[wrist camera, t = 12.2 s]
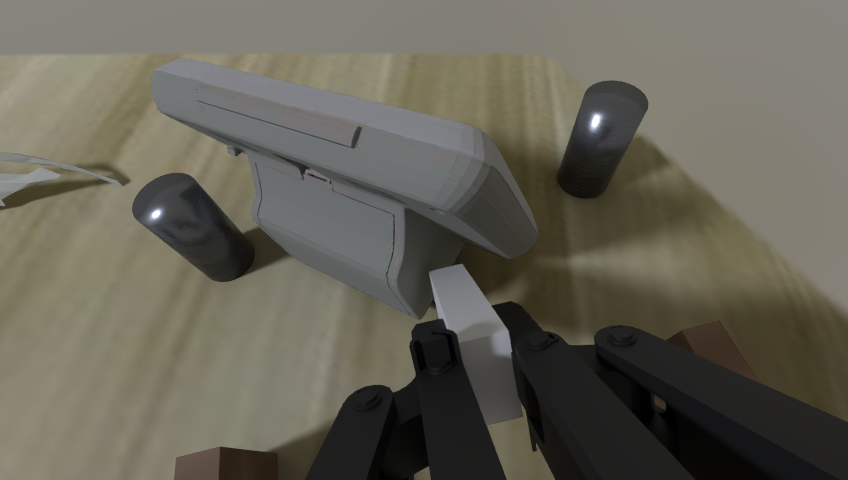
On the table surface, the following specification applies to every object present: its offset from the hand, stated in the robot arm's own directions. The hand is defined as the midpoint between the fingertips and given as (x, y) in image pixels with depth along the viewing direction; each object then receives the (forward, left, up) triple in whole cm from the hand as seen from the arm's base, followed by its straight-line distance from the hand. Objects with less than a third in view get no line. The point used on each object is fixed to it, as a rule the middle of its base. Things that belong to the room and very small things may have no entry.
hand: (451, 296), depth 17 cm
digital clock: (+6, +2, -3) cm, 7 cm away
